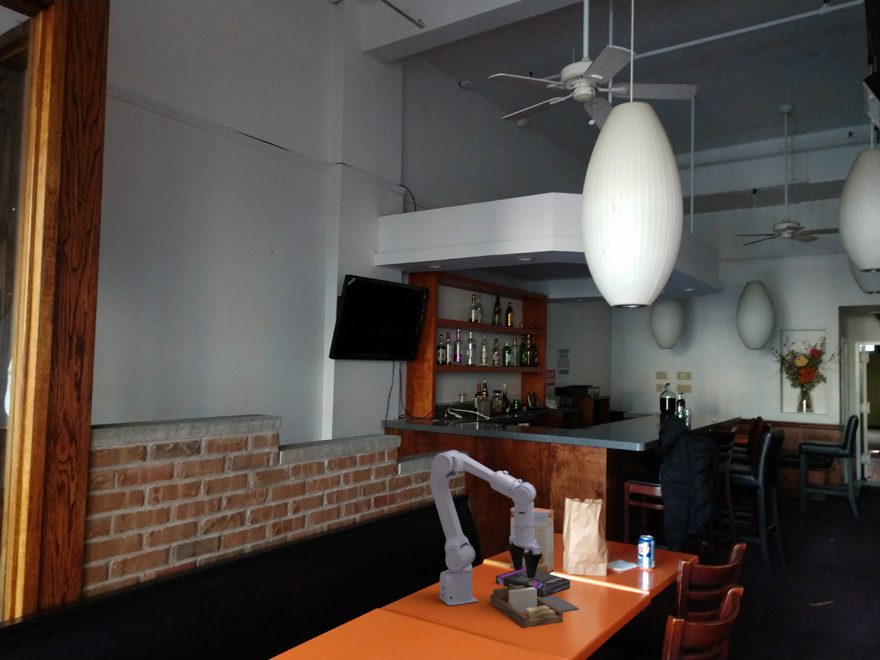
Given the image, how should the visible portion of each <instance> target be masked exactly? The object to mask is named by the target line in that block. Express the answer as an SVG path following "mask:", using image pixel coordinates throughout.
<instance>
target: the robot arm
mask: <svg viewBox="0 0 880 660" xmlns="http://www.w3.org/2000/svg"><path fill="white" fill-rule="evenodd" d="M430 466H431V470H430V477H429V486H430V489H431V492H432V497H433V499H434V503H435V506H436V509H437V512H438V516H439V520H440V523H441V526H442V531H443V533H444V536H445V539H446V540H445V545H444V551H445V559H444V560H445V565H446V567H447V568H448V569H447V570H444V571H441V572H440V575H439V596H438V598H439V599H440V600H441V601H442V602H443V603H445V604H446V605H447V606H457V605H464V604H472V603H477V602H478V599H476V598H475V597H473V565H472V563H473V562H474V560H475V559H476V551H475V549H474V548H473V546H472V545H471V544H470V542H469V539H468V537H467V536H466V535H464V533H463V530H462V526H461V523H460V520H459V516H458V513H457V510H456V507H455V503H454V500H453V496H452V493H451V489H450V486H449V482H450V481H451V478H452V477H453V476H454V474H455V473H456V472H468V473H470V474H472V475H474V476H475V477H478V478H479V479H480V478H481V479H482V480H484V481H486V482H488V483H489V485H490V487H491V488H492V489H493V490H495V491H497V492H498V493H500V494H501V495H504V496H505V497H507V498H510V499H512V502H513V503H514V507H515V510H514V536H511V535H509V539H508V541H509V545H506V548H507V550H508V553H509V555H510V559H511V558H512V562H513V567H514V569H513V570H515V571H518V570H522V564H523V557H524V560H525V564H526V573H527V577H528V578H534V577H535V574H536V570H537V566H538V563H539V561H540V559H541V557H542V555H543V554H542V553H541V552H540V547H539V546H538V545H537V544H536V543H538V542H537V540H534V508H535V505H534V504H535V503H534V500H535V498H536V496H537V491H536V488H535V487H534V485H533V484H531V483H530V482H528V481H527V482H526V481H525V482H524V481H523V480H522V479H521V478H519V479H517V478H515V477H513V476H511V475H509V472H508V471H507V470H503V471H502V470H497V471H493V470H492V469H491V468H488V467H486V466H485V465H483V464H481V463H480V462H478V461H476V460H475V459H473V458H471V457H469V456H468V455H467V454H465V453H462V452H459V451H458V450H456V449H450V450H448V451H445V452H441V453H438V454H436V455H435V457H434V458H433V460H432V461H431V463H430ZM511 543H512V544H511ZM525 549H526V550H528V551H529V552H525V553H524V551H525Z"/></svg>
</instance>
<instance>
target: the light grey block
mask: <svg viewBox="0 0 880 660" xmlns="http://www.w3.org/2000/svg"><path fill="white" fill-rule="evenodd" d="M537 597H538V596H537V589H536V588H534V587H530V588H522V589H515V590H509V602H508V605H510V606H511V607H513V608H514V609H515V610H517V611H518V612H520V613H521V614H523V613H525V609H526V608H532V607H537Z"/></svg>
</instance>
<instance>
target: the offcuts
mask: <svg viewBox="0 0 880 660" xmlns="http://www.w3.org/2000/svg"><path fill="white" fill-rule="evenodd" d="M524 613H525V615H524V616H526V617H527V620H530V619H537V618H543V617H550V616H555V611H553V610H551V609H549V607H547V606H545V605H544V606H538V607H532V608H526V609H525V612H524Z"/></svg>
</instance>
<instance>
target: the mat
mask: <svg viewBox="0 0 880 660" xmlns="http://www.w3.org/2000/svg"><path fill="white" fill-rule="evenodd" d="M539 598H540V599H541V600H543V601H545V602H546V603H548V604H550V605H551V606H553V607H555V608H556V609H558V610H560V611H561V612H563V613H566V612H565V611H567V612H572V611H571V610H573V611H578V609H579V610H580V608H579V607H578V606H576V605H574V604H572V603H570V602H569V601H567V600H565V599H563V598H561V597H560V596H558V595H550V596H547V597H542V598H541V597H539Z"/></svg>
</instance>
